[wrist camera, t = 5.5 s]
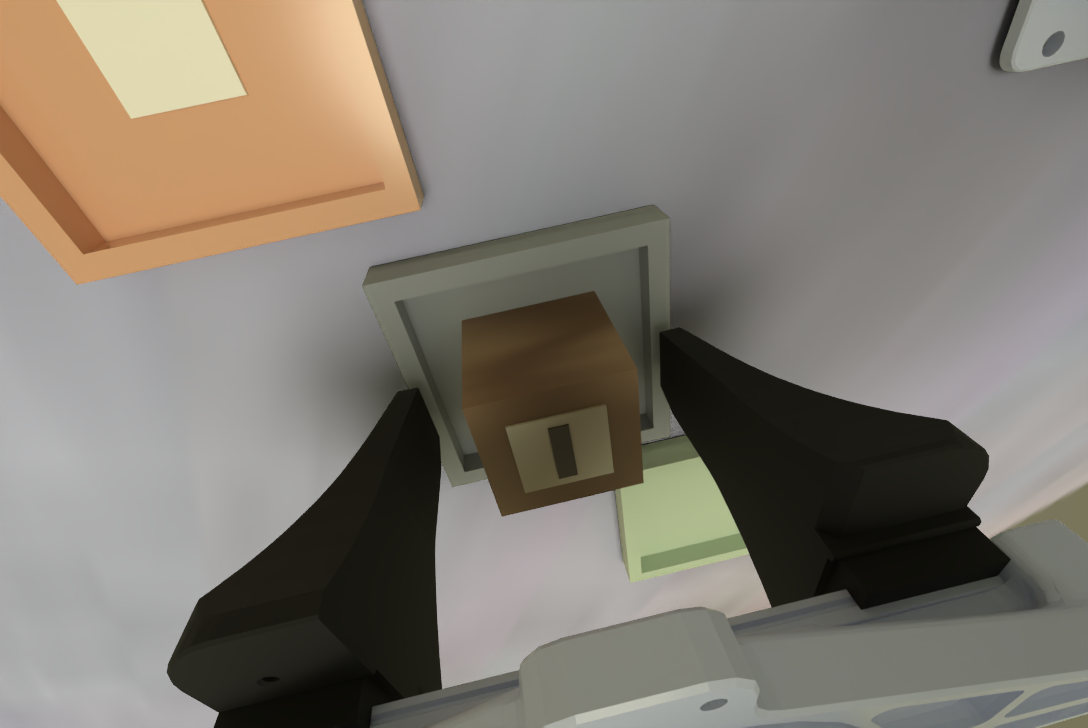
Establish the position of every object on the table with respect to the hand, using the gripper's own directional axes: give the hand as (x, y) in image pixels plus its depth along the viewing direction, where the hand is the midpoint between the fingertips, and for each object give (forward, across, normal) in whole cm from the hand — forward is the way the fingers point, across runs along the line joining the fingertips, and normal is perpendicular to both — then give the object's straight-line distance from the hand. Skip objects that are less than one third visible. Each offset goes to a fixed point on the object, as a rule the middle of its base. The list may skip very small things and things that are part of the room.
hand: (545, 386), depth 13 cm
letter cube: (+1, 0, 0) cm, 1 cm away
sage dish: (+2, -6, +10) cm, 11 cm away
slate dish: (+2, 0, 0) cm, 2 cm away
